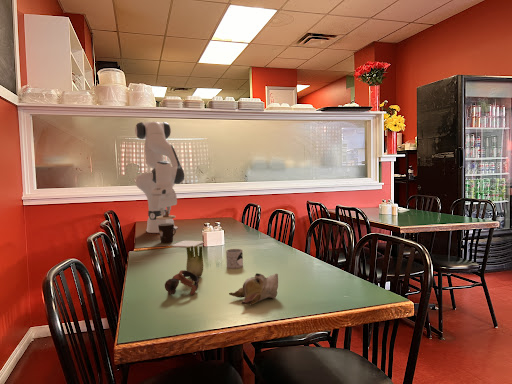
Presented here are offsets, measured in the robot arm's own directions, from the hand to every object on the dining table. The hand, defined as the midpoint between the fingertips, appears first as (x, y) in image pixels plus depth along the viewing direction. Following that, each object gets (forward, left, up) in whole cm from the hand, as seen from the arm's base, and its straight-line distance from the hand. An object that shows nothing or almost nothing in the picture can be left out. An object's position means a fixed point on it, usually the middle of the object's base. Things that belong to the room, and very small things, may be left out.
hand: (165, 214), depth 205 cm
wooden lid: (0, 0, -2) cm, 2 cm away
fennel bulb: (+56, +47, -16) cm, 75 cm away
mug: (+37, +56, -16) cm, 69 cm away
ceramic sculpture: (+73, +77, -16) cm, 108 cm away
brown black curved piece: (+73, +51, -16) cm, 91 cm away
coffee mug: (+1, +1, -16) cm, 16 cm away
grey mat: (+3, +15, -15) cm, 22 cm away
